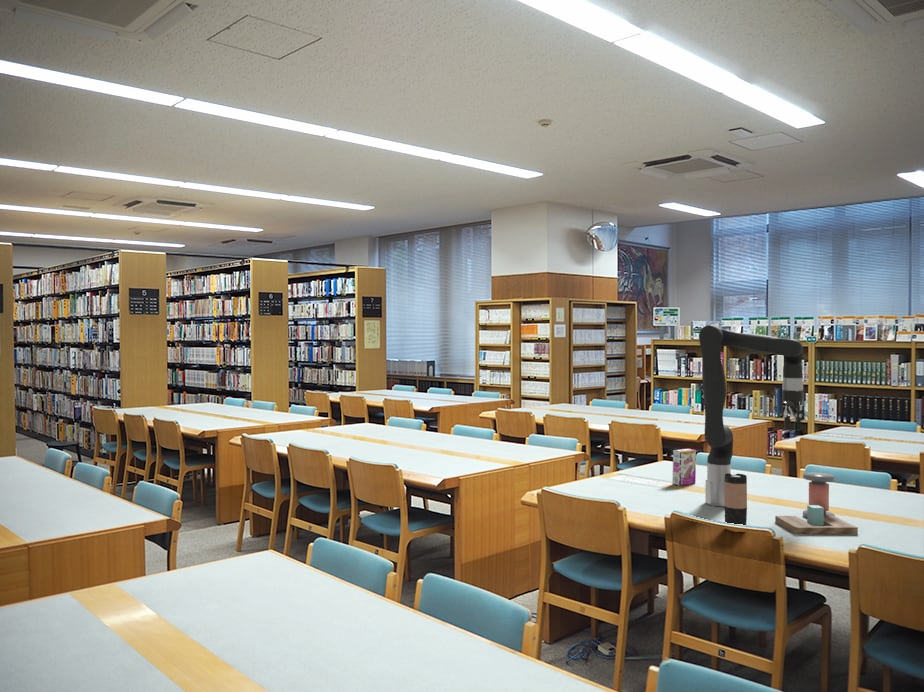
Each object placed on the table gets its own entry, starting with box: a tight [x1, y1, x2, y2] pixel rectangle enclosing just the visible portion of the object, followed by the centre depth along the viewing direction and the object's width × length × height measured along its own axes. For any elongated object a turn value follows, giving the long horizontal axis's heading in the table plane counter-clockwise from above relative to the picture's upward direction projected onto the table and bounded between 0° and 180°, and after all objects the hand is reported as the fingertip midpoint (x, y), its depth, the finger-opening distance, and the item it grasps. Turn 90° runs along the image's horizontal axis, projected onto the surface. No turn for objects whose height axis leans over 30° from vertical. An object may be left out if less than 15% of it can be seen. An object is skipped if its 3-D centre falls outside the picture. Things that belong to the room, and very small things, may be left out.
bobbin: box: [802, 471, 836, 519], centre depth 265 cm, size 11×11×16 cm
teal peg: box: [806, 504, 824, 526], centre depth 251 cm, size 4×4×8 cm
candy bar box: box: [671, 448, 697, 487], centre depth 326 cm, size 11×5×16 cm, turn 122°
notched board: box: [774, 515, 859, 535], centre depth 251 cm, size 22×16×2 cm
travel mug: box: [723, 473, 748, 526], centre depth 249 cm, size 8×8×20 cm
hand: (792, 429), depth 274 cm, fingers open, 8 cm apart
